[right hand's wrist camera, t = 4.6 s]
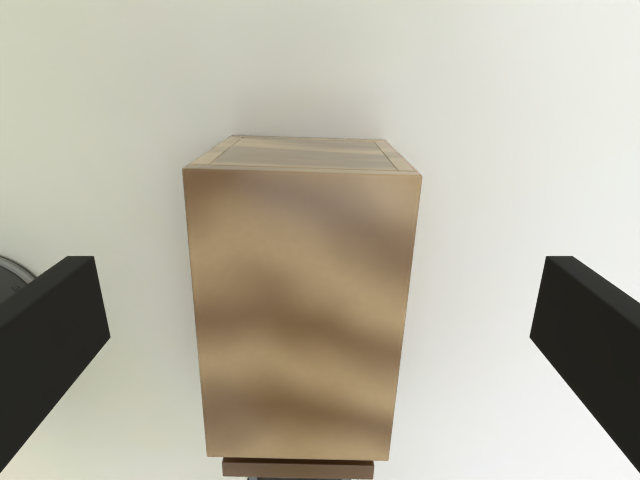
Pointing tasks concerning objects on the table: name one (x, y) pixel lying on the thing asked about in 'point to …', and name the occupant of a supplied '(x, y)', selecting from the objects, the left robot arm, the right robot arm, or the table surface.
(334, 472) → the drawer
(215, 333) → the cabinet
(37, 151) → the table surface
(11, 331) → the right robot arm
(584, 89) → the table surface
